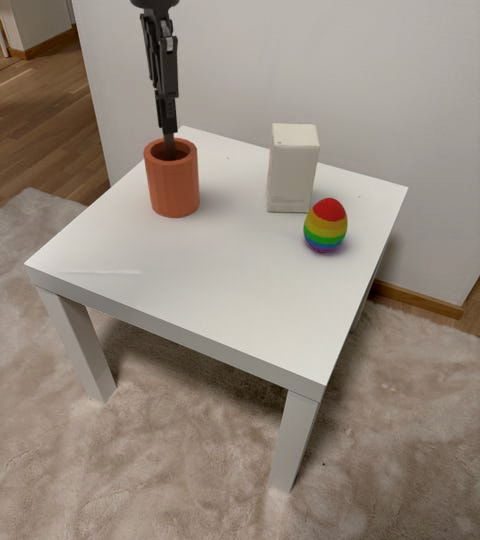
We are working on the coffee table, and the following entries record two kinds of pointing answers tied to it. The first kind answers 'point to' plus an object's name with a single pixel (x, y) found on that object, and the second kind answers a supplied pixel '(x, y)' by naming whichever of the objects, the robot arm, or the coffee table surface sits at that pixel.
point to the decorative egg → (325, 225)
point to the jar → (173, 178)
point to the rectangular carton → (292, 167)
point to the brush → (169, 143)
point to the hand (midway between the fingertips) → (168, 129)
